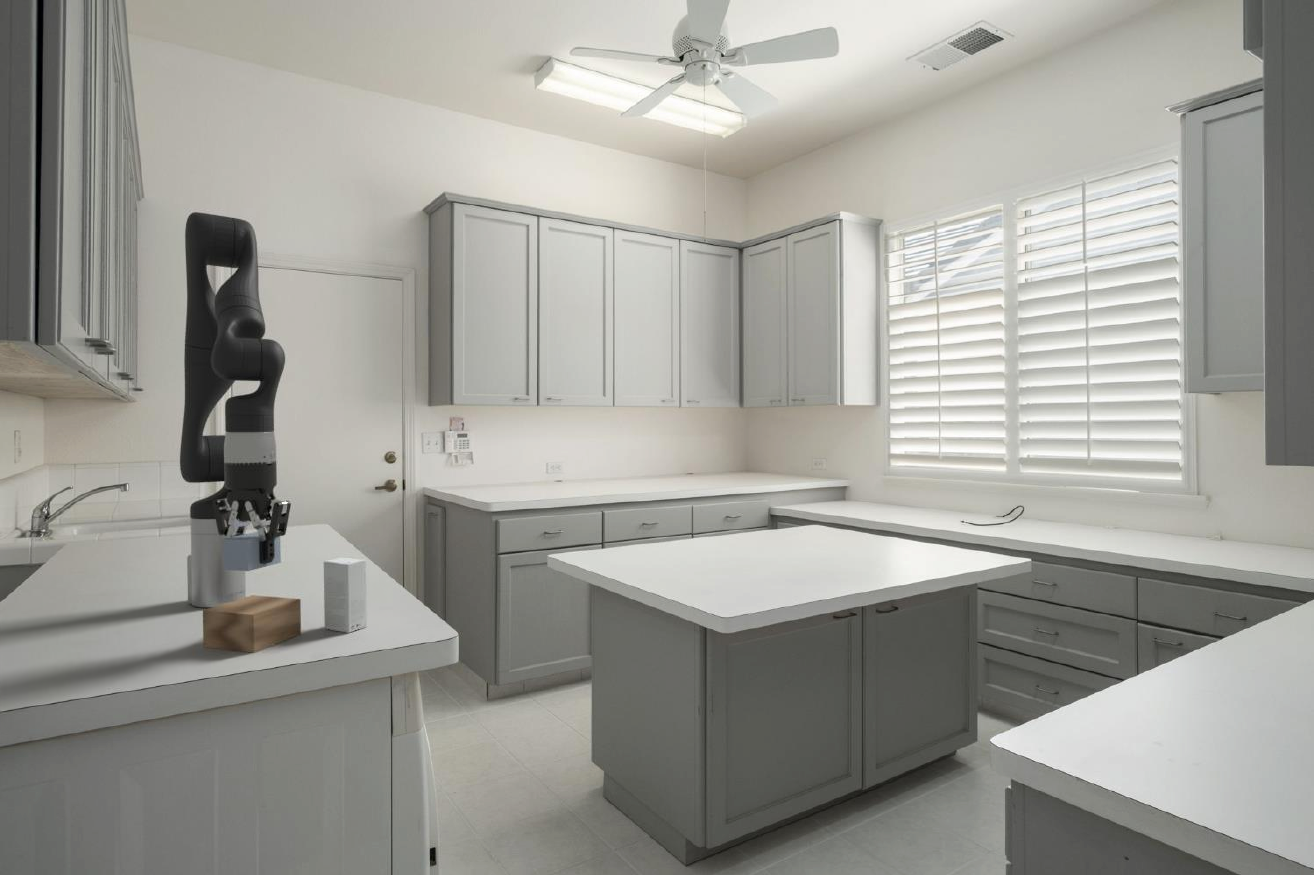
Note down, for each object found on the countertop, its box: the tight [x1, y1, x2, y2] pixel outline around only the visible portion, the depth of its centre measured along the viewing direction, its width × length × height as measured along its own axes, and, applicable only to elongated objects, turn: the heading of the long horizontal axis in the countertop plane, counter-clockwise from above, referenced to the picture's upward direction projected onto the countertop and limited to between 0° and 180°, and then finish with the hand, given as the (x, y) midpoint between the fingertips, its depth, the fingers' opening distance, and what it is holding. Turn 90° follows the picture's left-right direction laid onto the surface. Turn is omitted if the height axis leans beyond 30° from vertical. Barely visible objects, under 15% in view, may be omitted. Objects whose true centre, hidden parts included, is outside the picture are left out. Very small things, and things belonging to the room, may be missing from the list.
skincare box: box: [323, 557, 368, 634], centre depth 127 cm, size 6×4×12 cm
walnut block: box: [202, 594, 302, 653], centre depth 120 cm, size 10×10×6 cm
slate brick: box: [222, 531, 282, 572], centre depth 120 cm, size 5×7×5 cm
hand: (252, 561), depth 120 cm, fingers closed on slate brick, 5 cm apart
